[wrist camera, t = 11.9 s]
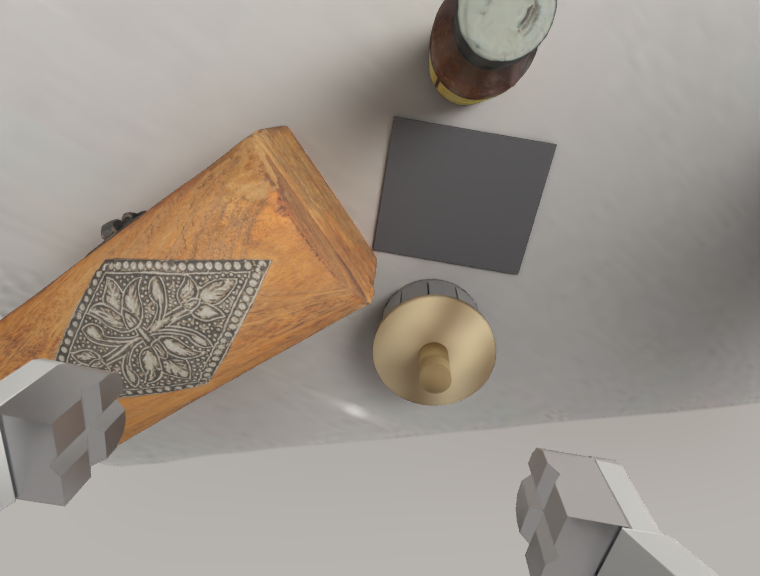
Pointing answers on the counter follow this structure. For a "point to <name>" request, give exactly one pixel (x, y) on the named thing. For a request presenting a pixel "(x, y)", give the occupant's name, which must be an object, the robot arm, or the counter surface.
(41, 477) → the robot arm
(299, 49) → the counter surface
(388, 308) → the bowl
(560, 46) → the counter surface
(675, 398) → the counter surface
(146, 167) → the counter surface
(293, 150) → the wooden box
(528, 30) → the sauce bottle
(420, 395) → the lid
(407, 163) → the mat
